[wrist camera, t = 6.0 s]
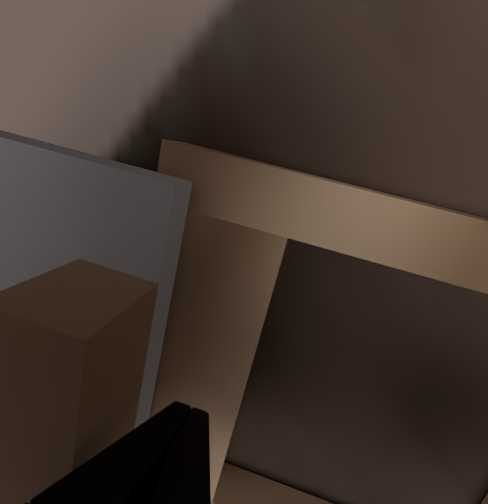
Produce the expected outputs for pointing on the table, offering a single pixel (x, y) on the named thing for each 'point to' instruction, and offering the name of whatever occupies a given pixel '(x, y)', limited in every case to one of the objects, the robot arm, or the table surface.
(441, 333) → the table surface
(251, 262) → the puzzle board
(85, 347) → the sliding lid
